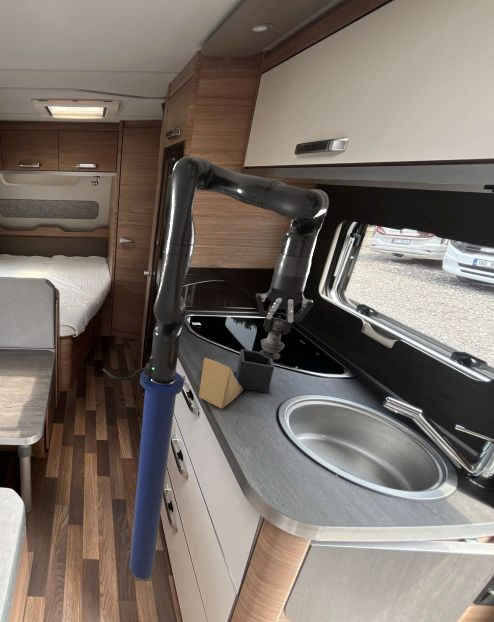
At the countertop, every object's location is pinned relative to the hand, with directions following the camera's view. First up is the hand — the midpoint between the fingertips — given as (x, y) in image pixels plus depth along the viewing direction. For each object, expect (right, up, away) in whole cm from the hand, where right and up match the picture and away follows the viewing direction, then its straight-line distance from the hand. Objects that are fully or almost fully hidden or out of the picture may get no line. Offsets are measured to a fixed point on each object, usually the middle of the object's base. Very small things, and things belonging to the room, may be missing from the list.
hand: (275, 331), depth 93 cm
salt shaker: (0, -7, +3) cm, 7 cm away
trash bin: (+7, -20, +26) cm, 33 cm away
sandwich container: (-6, -22, +20) cm, 30 cm away
